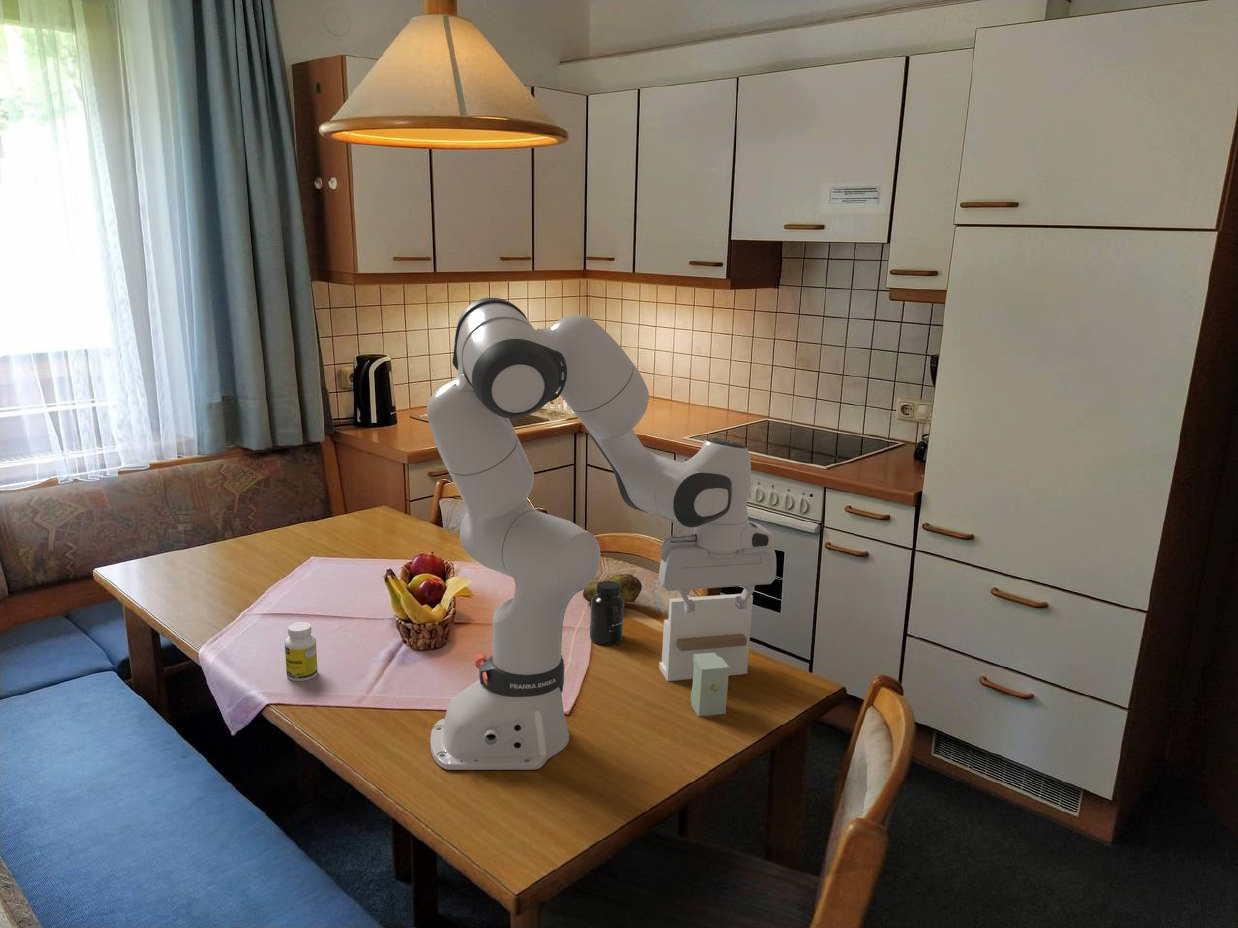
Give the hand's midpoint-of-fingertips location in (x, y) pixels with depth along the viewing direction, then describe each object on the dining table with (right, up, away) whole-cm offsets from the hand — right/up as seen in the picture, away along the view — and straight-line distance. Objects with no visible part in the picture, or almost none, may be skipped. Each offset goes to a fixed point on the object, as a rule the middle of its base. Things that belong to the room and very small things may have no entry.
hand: (715, 609), depth 154 cm
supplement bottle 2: (-19, -11, +31) cm, 38 cm away
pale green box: (-1, -18, +5) cm, 19 cm away
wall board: (0, -15, +17) cm, 23 cm away
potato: (-18, -7, +48) cm, 51 cm away
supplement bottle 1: (-75, -14, +11) cm, 77 cm away
